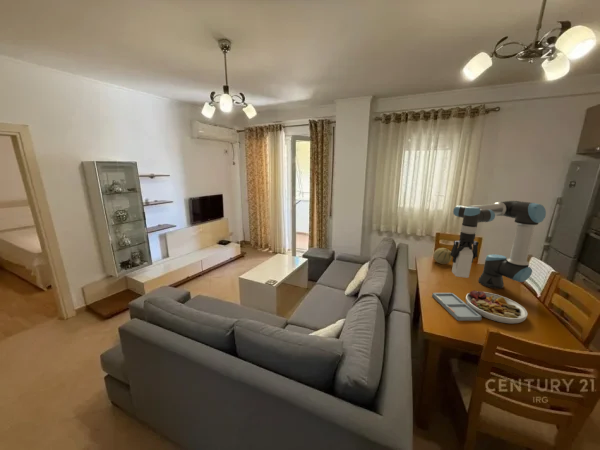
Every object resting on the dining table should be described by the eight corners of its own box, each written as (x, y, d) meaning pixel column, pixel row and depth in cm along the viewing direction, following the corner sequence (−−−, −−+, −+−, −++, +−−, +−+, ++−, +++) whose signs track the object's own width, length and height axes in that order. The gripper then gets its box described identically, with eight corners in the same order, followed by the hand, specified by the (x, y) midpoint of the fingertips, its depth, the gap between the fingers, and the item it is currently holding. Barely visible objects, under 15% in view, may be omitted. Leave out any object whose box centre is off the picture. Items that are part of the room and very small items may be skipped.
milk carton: (468, 278, 149) (474, 248, 144) (455, 276, 150) (461, 247, 146) (463, 273, 155) (469, 245, 151) (451, 272, 157) (456, 244, 152)
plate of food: (534, 316, 146) (537, 304, 144) (512, 333, 131) (515, 320, 130) (478, 293, 171) (480, 283, 169) (455, 305, 157) (457, 294, 155)
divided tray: (451, 295, 168) (452, 292, 167) (481, 320, 142) (481, 316, 141) (432, 296, 167) (432, 292, 167) (457, 320, 141) (458, 316, 141)
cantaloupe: (433, 258, 233) (435, 244, 229) (451, 262, 225) (453, 247, 221) (431, 264, 221) (433, 248, 218) (450, 267, 213) (452, 251, 210)
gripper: (480, 231, 150) (473, 265, 155) (447, 230, 150) (441, 264, 155) (490, 234, 142) (482, 270, 148) (454, 233, 142) (448, 269, 148)
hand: (461, 267), depth 151 cm, fingers closed on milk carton, 8 cm apart
